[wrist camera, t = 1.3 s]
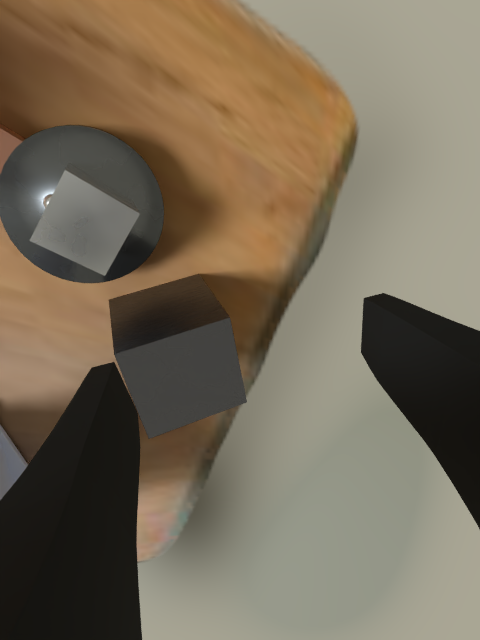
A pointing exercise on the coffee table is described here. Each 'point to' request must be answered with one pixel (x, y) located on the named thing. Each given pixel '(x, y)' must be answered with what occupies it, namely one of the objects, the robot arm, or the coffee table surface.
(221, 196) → the coffee table surface
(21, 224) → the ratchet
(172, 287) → the socket
